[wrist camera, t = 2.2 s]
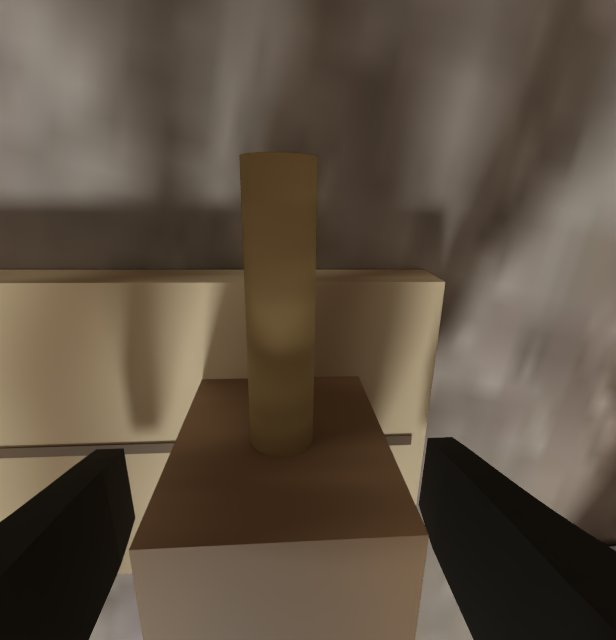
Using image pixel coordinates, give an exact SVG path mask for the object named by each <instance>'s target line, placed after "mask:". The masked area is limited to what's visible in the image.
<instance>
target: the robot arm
mask: <svg viewBox="0 0 616 640" xmlns="http://www.w3.org/2000/svg"><path fill="white" fill-rule="evenodd" d="M419 507H420V510H421V513H422V517H423V520H424V523H425V527H426V530H427V532H428V534H429V539H430V542H431V545H432V548H433V550H434V552H435V555H436V557H437V559H438V561H439V564H440V566H441V568H442V570H443V573H444V575H445V577H446V579H447V582H448V584H449V586H450V588H451V591H452V593H453V595H454V597H455V599H456V602H457V604H458V606H459V608H460V610H461V613H462V615H463V617H464V619H465V622H466V624H467V626H468V628H469V630H470V633H471V635H472V637H473V639H474V640H616V546H607V545H605V544H604V543H602V542H601V541H599V540H597V539H596V538H594V537H593V536H591V535H589V534H588V533H586V532H585V531H583V530H582V529H580V528H579V527H577V526H576V525H574V524H573V523H571V522H570V521H568V520H567V519H565V518H564V517H562V516H561V515H559V514H558V513H556V512H555V511H553V510H552V509H550V508H549V507H548V506H546V505H545V504H543V503H542V502H540V501H539V500H537V499H536V498H535V497H533V496H532V495H530V494H529V493H528V492H526V491H525V490H524V489H522V488H521V487H519V486H518V485H517V484H515V483H514V482H513V481H511V480H510V479H508V478H507V477H506V476H504V475H503V474H502V473H500V472H499V471H498V470H496V469H495V468H494V467H492V466H491V465H490V464H488V463H487V462H486V461H484V460H483V459H482V458H480V457H479V456H478V455H476V454H475V453H474V452H472V451H471V450H470V449H468V448H467V447H466V446H464V445H463V444H461V443H460V442H458V441H457V440H455V439H454V438H452V437H445V438H428V441H427V448H426V455H425V463H424V470H423V478H422V485H421V492H420V500H419ZM134 521H135V512H134V506H133V500H132V495H131V489H130V483H129V477H128V471H127V465H126V459H125V453H124V448H120V449H96V450H95V451H93V452H92V453H90V454H89V455H88V456H86V457H85V458H84V459H82V460H81V461H80V462H78V463H77V464H76V465H74V466H73V467H72V468H70V469H69V470H68V471H66V472H65V473H64V474H63V475H61V476H60V477H59V478H57V479H56V480H55V481H54V482H52V483H51V484H50V485H48V486H47V487H46V488H44V489H43V490H42V491H41V492H39V493H38V494H37V495H35V496H34V497H33V498H31V499H30V500H29V501H27V502H26V503H25V504H23V505H22V506H21V507H19V508H18V509H17V510H16V511H14V512H13V513H12V514H10V515H9V516H8V517H6V518H5V519H4V520H2V521H1V522H0V640H89V638H90V635H91V633H92V631H93V628H94V626H95V624H96V622H97V619H98V617H99V615H100V613H101V610H102V608H103V606H104V603H105V601H106V599H107V596H108V594H109V592H110V589H111V587H112V585H113V583H114V580H115V578H116V576H117V573H118V571H119V568H120V566H121V563H122V560H123V557H124V554H125V551H126V548H127V545H128V541H129V538H130V535H131V531H132V528H133V524H134Z"/></svg>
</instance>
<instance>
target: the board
mask: <svg viewBox="0 0 616 640" xmlns="http://www.w3.org/2000/svg"><path fill="white" fill-rule="evenodd" d="M444 289H445V281H443V280H441V279H440V278H438V277H436V276H434V275H433V274H431V273H429V272H427V271H426V270H424V269H377V270H316V295H315V350H314V377H339V376H358V377H359V379H360V381H361V383H362V386H363V388H364V390H365V392H366V395H367V397H368V399H369V401H370V404H371V406H372V408H373V410H374V413H375V415H376V417H377V419H378V422H379V424H380V426H381V428H382V431H383V433H384V435H385V437H386V440H387V442H388V444H389V446H390V449H391V451H392V453H393V455H394V458H395V460H396V462H397V464H398V467H399V469H400V471H401V473H402V476H403V478H404V480H405V482H406V485H407V487H408V489H409V491H410V494H411V496H412V498H413V500H414V503H415V505H416V502H417V494H418V487H419V479H420V472H421V464H422V456H423V449H424V441H425V434H426V426H427V418H428V411H429V403H430V395H431V388H432V380H433V373H434V365H435V357H436V350H437V342H438V335H439V327H440V319H441V312H442V304H443V297H444ZM241 378H248V365H247V339H246V312H245V286H244V270H0V522H1V521H2V520H4V519H5V518H6V517H8V516H9V515H10V514H12V513H13V512H14V511H16V510H17V509H18V508H19V507H21V506H22V505H23V504H25V503H26V502H27V501H29V500H30V499H31V498H33V497H34V496H35V495H37V494H38V493H39V492H41V491H42V490H43V489H44V488H46V487H47V486H48V485H50V484H51V483H52V482H54V481H55V480H56V479H57V478H59V477H60V476H61V475H63V474H64V473H65V472H66V471H68V470H69V469H70V468H72V467H73V466H74V465H76V464H77V463H78V462H80V461H81V460H82V459H84V458H85V457H86V456H88V455H89V454H90V453H92V452H93V451H95V450H96V449H120V448H124V453H125V459H126V465H127V471H128V477H129V483H130V489H131V495H132V500H133V506H134V512H135V521H134V524H133V528H132V531H131V535H130V538H129V541H128V545H127V548H126V551H125V554H124V557H123V560H122V563H121V566H120V568H119V571H118V573H117V574H132V568H131V562H130V556H129V548H130V546H131V543H132V541H133V539H134V536H135V534H136V532H137V529H138V527H139V525H140V522H141V520H142V518H143V515H144V513H145V511H146V508H147V506H148V504H149V501H150V499H151V497H152V495H153V492H154V490H155V488H156V485H157V483H158V481H159V478H160V476H161V474H162V471H163V469H164V467H165V464H166V462H167V460H168V457H169V455H170V453H171V450H172V448H173V446H174V443H175V441H176V439H177V436H178V434H179V432H180V429H181V427H182V425H183V422H184V420H185V418H186V415H187V413H188V411H189V408H190V406H191V404H192V401H193V399H194V397H195V394H196V392H197V390H198V387H199V385H200V383H201V380H202V379H241Z"/></svg>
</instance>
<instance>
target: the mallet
mask: <svg viewBox="0 0 616 640" xmlns="http://www.w3.org/2000/svg"><path fill="white" fill-rule="evenodd" d="M240 181H241V207H242V233H243V260H244V286H245V312H246V339H247V365H248V378H241V379H202V380H201V383H200V385H199V387H198V390H197V392H196V394H195V397H194V399H193V401H192V404H191V406H190V408H189V411H188V413H187V415H186V418H185V420H184V422H183V425H182V427H181V429H180V432H179V434H178V436H177V439H176V441H175V443H174V446H173V448H172V450H171V453H170V455H169V457H168V460H167V462H166V464H165V467H164V469H163V471H162V474H161V476H160V478H159V481H158V483H157V485H156V488H155V490H154V492H153V495H152V497H151V499H150V501H149V504H148V506H147V508H146V511H145V513H144V515H143V518H142V520H141V522H140V525H139V527H138V529H137V532H136V534H135V536H134V539H133V541H132V543H131V546H130V548H129V556H130V562H131V568H132V574H133V580H134V586H135V593H136V599H137V605H138V611H139V617H140V623H141V629H142V635H143V640H415V636H416V628H417V621H418V613H419V606H420V598H421V591H422V583H423V576H424V568H425V561H426V553H427V545H428V538H429V534H428V532H427V530H426V528H425V525H424V523H423V521H422V519H421V516H420V514H419V512H418V510H417V507H416V505H415V503H414V500H413V498H412V496H411V494H410V491H409V489H408V487H407V485H406V482H405V480H404V478H403V476H402V473H401V471H400V469H399V467H398V464H397V462H396V460H395V458H394V455H393V453H392V451H391V449H390V446H389V444H388V442H387V440H386V437H385V435H384V433H383V431H382V428H381V426H380V424H379V422H378V419H377V417H376V415H375V413H374V410H373V408H372V406H371V404H370V401H369V399H368V397H367V395H366V392H365V390H364V388H363V386H362V383H361V381H360V379H359V377H358V376H339V377H314V350H315V295H316V239H317V183H318V156H315V155H310V154H302V153H288V152H256V153H245V154H241V155H240Z"/></svg>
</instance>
